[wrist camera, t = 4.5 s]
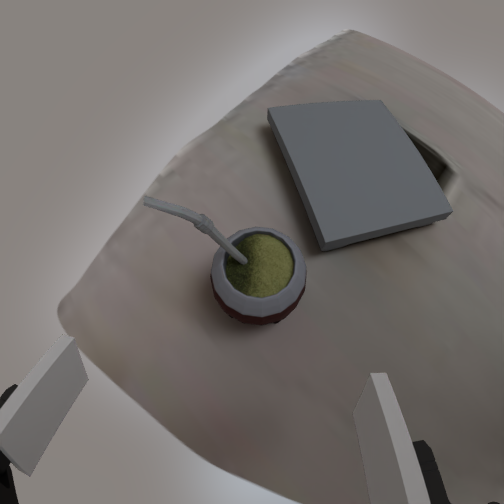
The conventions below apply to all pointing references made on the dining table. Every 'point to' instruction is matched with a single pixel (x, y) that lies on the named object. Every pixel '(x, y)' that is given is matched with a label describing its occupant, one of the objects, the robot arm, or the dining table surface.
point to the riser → (356, 171)
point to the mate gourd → (250, 269)
